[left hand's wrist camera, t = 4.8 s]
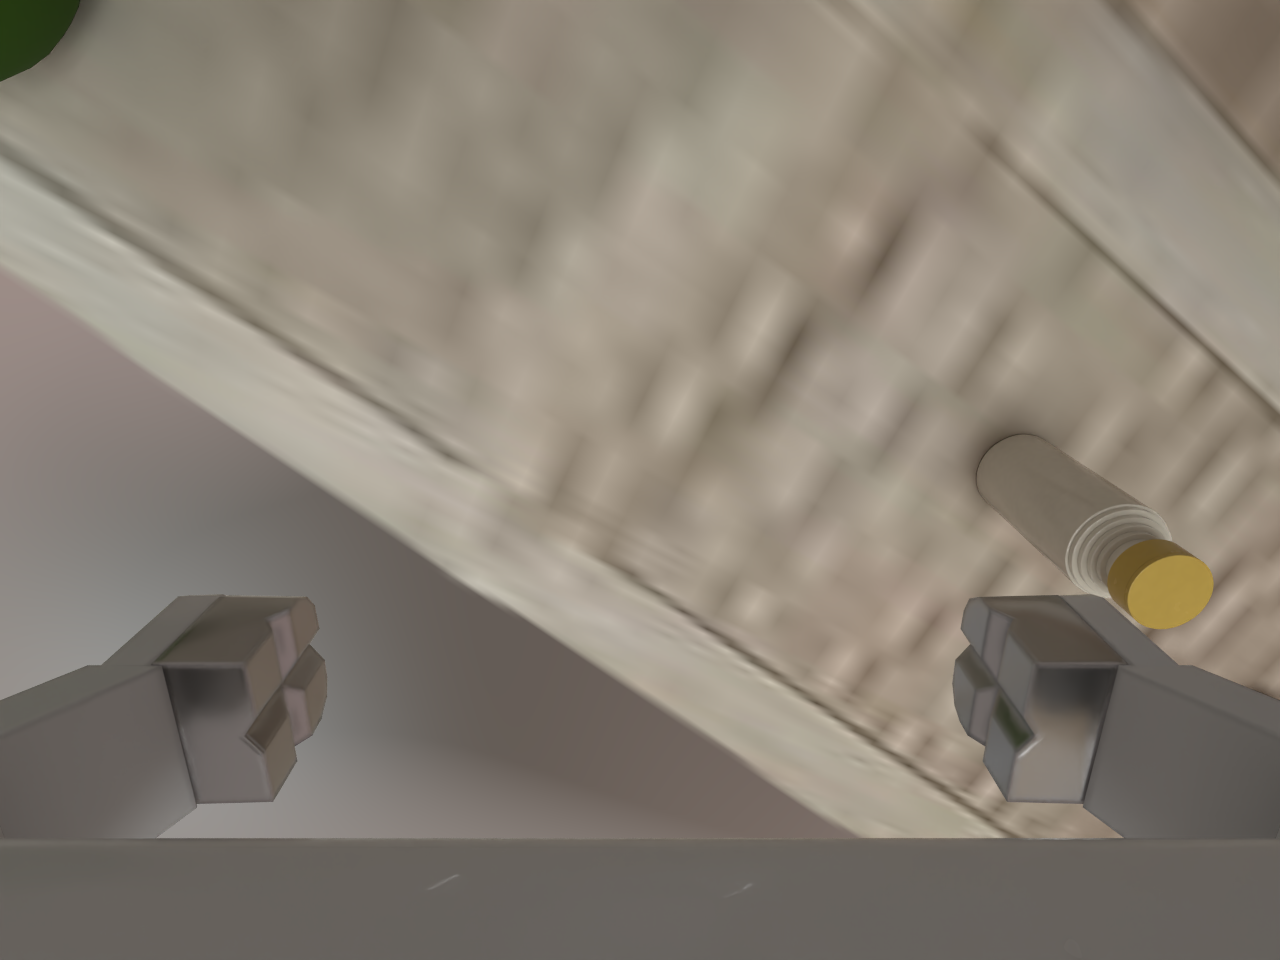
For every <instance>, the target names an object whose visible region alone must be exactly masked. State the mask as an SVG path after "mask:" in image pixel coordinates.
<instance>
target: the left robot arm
mask: <svg viewBox="0 0 1280 960" xmlns="http://www.w3.org/2000/svg"><path fill="white" fill-rule="evenodd" d="M318 630H319V625H318V620H317V615H316V610H315V605H314V604H313V603H312V602H311V601H310V600H309V598H308V597H296V596H241V595H229V596H226V595H223V594H217V595H188V596H178V597H177V598H176V599H175V600H174V601H173V602H172V603H170V604H169V605H168V606H167V607H166V608H165V609H164V610H163V611H161V612H160V613H159V614H158V615H157V616H156V617H155V618H154V619H152V620H151V621H150V622H149V623H148V624H147V625H146V626H145V627H144V628H142V629H141V630H140V631H139V632H138V633H137V634H136V635H135V636H133V637H132V638H131V639H130V640H129V641H128V642H127V643H126V644H125V645H123V646H122V647H121V648H120V649H119V650H118V651H117V652H115V653H114V654H113V655H112V656H111V657H110V658H109V659H108V660H107V661H105V662H104V663H103V664H102V665H89V666H85V667H82V668H80V669H77V670H75V671H72V672H70V673H67V674H65V675H62V676H60V677H57V678H55V679H52V680H50V681H47V682H45V683H43V684H40V685H37V686H35V687H32V688H30V689H28V690H25V691H22V692H20V693H17V694H15V695H13V696H10V697H8V698H5V699H3V700H0V960H1280V700H1277V699H1275V698H1272V697H1270V696H1267V695H1265V694H1262V693H1260V692H1257V691H1255V690H1252V689H1250V688H1247V687H1245V686H1242V685H1240V684H1237V683H1235V682H1232V681H1230V680H1228V679H1225V678H1223V677H1220V676H1218V675H1215V674H1213V673H1210V672H1208V671H1205V670H1203V669H1200V668H1198V667H1195V666H1193V665H1178V664H1177V663H1176V662H1175V661H1174V660H1172V659H1171V658H1170V657H1169V656H1168V655H1167V654H1166V653H1165V652H1163V651H1162V650H1161V649H1160V648H1159V647H1158V646H1157V645H1156V644H1155V643H1153V642H1152V641H1151V640H1150V639H1149V638H1148V637H1147V636H1146V635H1144V634H1143V633H1142V632H1141V631H1140V630H1139V629H1138V628H1137V627H1136V626H1134V625H1133V624H1132V623H1131V622H1130V621H1129V620H1128V619H1127V618H1126V617H1124V616H1123V615H1122V614H1121V613H1120V612H1119V611H1118V610H1117V609H1115V608H1114V607H1113V606H1112V605H1111V604H1110V603H1109V602H1108V601H1107V600H1105V599H1104V598H1103V597H1100V596H1096V595H1093V594H1084V595H1062V596H1059V595H1041V596H1000V597H976V598H970V599H969V601H968V603H967V605H966V607H965V609H964V613H963V618H962V624H961V630H962V632H963V633H964V635H965V636H966V638H967V639H968V641H969V643H970V645H969V646H968V647H967V648H966V649H965V650H964V651H963V652H962V654H961V655H960V656H959V657H958V658H957V659H956V660H955V667H954V675H953V683H952V684H953V694H954V704H955V708H956V711H957V714H958V717H959V720H960V723H961V724H962V726H963V728H964V730H965V731H966V733H967V735H968V736H970V737H971V738H973V739H974V740H976V741H978V742H979V743H981V744H982V745H984V746H985V751H984V757H983V762H984V764H985V766H986V767H987V769H988V771H989V772H990V774H991V776H992V777H993V779H994V781H995V782H996V784H997V786H998V787H999V789H1000V791H1001V792H1002V794H1003V796H1004V797H1005V799H1006V801H1007V802H1033V803H1070V804H1083V808H1085V809H1086V810H1087V811H1089V812H1090V813H1091V814H1093V815H1094V816H1095V817H1097V818H1098V819H1099V820H1101V821H1102V822H1103V823H1105V824H1106V825H1107V826H1109V827H1110V828H1112V829H1113V830H1114V831H1116V832H1117V833H1118V834H1120V835H1121V836H1122V837H1124V838H157V837H158V836H159V835H161V834H162V833H163V832H165V831H166V830H167V829H169V828H170V827H171V826H173V825H174V824H175V823H177V822H178V821H180V820H181V819H182V818H183V817H185V816H186V815H188V814H189V813H190V812H192V811H193V810H194V809H196V808H197V804H209V803H244V802H273V801H274V799H275V797H276V796H277V794H278V792H279V791H280V789H281V787H282V786H283V784H284V782H285V781H286V779H287V777H288V776H289V774H290V772H291V771H292V769H293V767H294V765H295V764H296V762H297V757H296V751H295V746H296V745H298V744H299V743H301V742H302V741H304V740H306V739H307V738H309V737H310V736H312V735H313V733H314V731H315V729H316V728H317V726H318V724H319V722H320V721H321V718H322V714H323V710H324V706H325V702H326V698H327V673H326V666H325V660H324V659H323V658H322V657H321V656H320V655H319V654H318V653H317V652H316V650H315V649H314V648H313V647H312V646H311V645H310V643H311V641H312V639H313V638H314V636H315V635H316V633H317V632H318Z"/></svg>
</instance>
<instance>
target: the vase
mask: <svg viewBox="0 0 1280 960" xmlns="http://www.w3.org/2000/svg"><path fill="white" fill-rule="evenodd" d="M79 2H80V0H0V81H3V80H5V79H7V78H9V77H12V76H14V75H16V74H18V73H20V72H23V71H25V70H27V69H29V68H31V67H33V66H34V65H35V64H37V63H38V62H39V61H41V60H42V59H43V58H45V57H46V56H47V55H49V53H50V52H51V51H52V50H53V48H54V47H55V46H56V44H57V43H58V42H59V41H60V39H61V38H62V37H63V35H64V34H65V32H66V31H67V29H68V27H69V26H70V24H71V22H72V20H73V18H74V16H75V13H76V11H77V9H78V7H79Z"/></svg>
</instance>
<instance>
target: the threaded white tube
mask: <svg viewBox="0 0 1280 960" xmlns="http://www.w3.org/2000/svg"><path fill="white" fill-rule="evenodd" d="M976 480H977V487H978V490H979V493H980V495H981V496H982V498H983V499H984V500H985V501H986V502H987V503H988V504H989V505H990V506H991V507H992V508H993V509H994V510H995V511H997V512H998V513H999V514H1000V515H1001V516H1002V517H1003V518H1004V519H1005V520H1006V521H1007V522H1008V523H1009V524H1010V525H1011V526H1013V527H1014V528H1015V529H1016V530H1017V531H1018V532H1019V533H1020V534H1021V535H1022V536H1023V537H1024V538H1025V539H1026V540H1027V541H1029V542H1030V543H1031V544H1032V545H1033V546H1034V547H1035V548H1036V549H1037V550H1038V551H1039V552H1040V553H1041V554H1042V555H1044V556H1045V557H1046V558H1047V559H1048V560H1049V561H1050V562H1051V563H1052V564H1053V565H1054V566H1055V567H1056V568H1057V569H1058V570H1060V571H1061V572H1062V573H1063V574H1064V575H1065V576H1066V577H1067V578H1068V579H1069V580H1070V581H1071V582H1072V583H1073V584H1075V585H1076V586H1077V587H1078V588H1079V589H1081V590H1082V591H1084V592H1086V593H1088V594H1093V595H1096V596H1100V597H1104V598H1111V596H1110V594H1109V591H1108V586H1107V579H1108V574H1109V571H1110V568H1111V566H1112V565H1113V563H1114V561H1115V560H1116V559H1117V558H1118V557H1119V555H1120V554H1121V553H1123V552H1124V551H1125V550H1126V549H1128V548H1129V547H1131V546H1133V545H1135V544H1137V543H1139V542H1142V541H1146V540H1151V539H1163V540H1168V541H1171V542H1172V538H1171V534H1170V531H1169V529H1168V527H1167V525H1166V523H1165V521H1164V520H1163V518H1162V517H1161V516H1160V515H1159V514H1158V513H1157V512H1155V511H1154V510H1152V509H1151V508H1149V507H1148V506H1146V505H1144V504H1143V503H1141V502H1140V501H1138V500H1137V499H1135V498H1134V497H1132V496H1131V495H1129V494H1127V493H1126V492H1124V491H1123V490H1121V489H1120V488H1118V487H1117V486H1115V485H1114V484H1112V483H1110V482H1109V481H1107V480H1106V479H1104V478H1103V477H1101V476H1100V475H1098V474H1097V473H1095V472H1093V471H1092V470H1090V469H1089V468H1087V467H1086V466H1084V465H1083V464H1081V463H1080V462H1078V461H1077V460H1075V459H1073V458H1072V457H1070V456H1069V455H1067V454H1066V453H1064V452H1063V451H1061V450H1060V449H1058V448H1056V447H1055V446H1053V445H1052V444H1050V443H1049V442H1047V441H1046V440H1044V439H1042V438H1040V437H1037V436H1034V435H1025V434H1023V435H1016V436H1011V437H1008V438H1006V439H1004V440H1002V441H1000V442H998V443H997V444H995V445H994V446H993V447H992V448H991V449H990V450H989V451H988V452H987V453H986V454H985V455H984V457H983V458H982V460H981V462H980V464H979V467H978V471H977V479H976Z"/></svg>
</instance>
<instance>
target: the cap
mask: <svg viewBox="0 0 1280 960" xmlns="http://www.w3.org/2000/svg"><path fill="white" fill-rule="evenodd" d="M1107 586H1108V591H1109V594H1110V596H1111V598H1112V599H1113V600H1114V601H1115V602H1116V603H1117V604H1118V605H1119V606H1120V607H1121V608H1123V609H1124V610H1125V611H1126V612H1127V613H1128V614H1129V615H1130V616H1131V617H1133V618H1134V619H1135V620H1136V621H1137V622H1138V623H1140V624H1141V625H1144V626H1146V627H1149V628H1154V629H1168V628H1173V627H1177V626H1179V625H1182V624H1184V623H1186V622H1188V621H1190V620H1191V619H1193V618H1194V617H1195V616H1197V615H1198V614H1199V613H1200V612H1201V611H1202V610H1203V609H1204V607H1205V606H1206V605H1207V603H1208V601H1209V599H1210V597H1211V595H1212V591H1213V577H1212V573H1211V571H1210V569H1209V568H1208V567H1207V565H1206V564H1205V563H1204V562H1202V561H1201V560H1199V559H1198V558H1196V557H1195V556H1193V555H1192V554H1190V553H1189V552H1188V551H1186V550H1185V549H1183V548H1182V547H1180V546H1179V545H1177V544H1176V543H1174V542H1171V541H1168V540H1163V539H1151V540H1146V541H1142V542H1139V543H1137V544H1135V545H1133V546H1131V547H1129V548H1128V549H1126V550H1125V551H1124V552H1123V553H1121V554H1120V555H1119V557H1118V558H1117V559H1116V560H1115V561H1114V563H1113V565H1112V566H1111V568H1110V571H1109V574H1108V579H1107Z"/></svg>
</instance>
